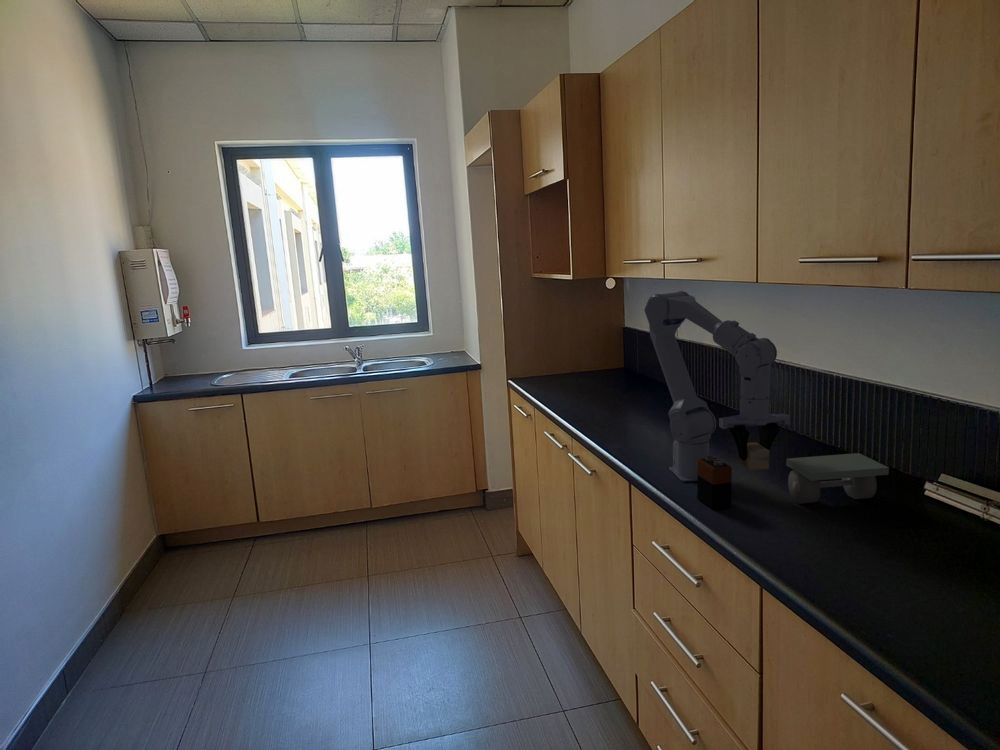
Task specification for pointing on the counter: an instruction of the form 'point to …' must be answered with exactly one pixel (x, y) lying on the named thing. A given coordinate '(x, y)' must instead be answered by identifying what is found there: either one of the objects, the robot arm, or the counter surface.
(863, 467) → the trolley
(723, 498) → the battery
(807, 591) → the counter surface
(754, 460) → the chock
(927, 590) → the counter surface
